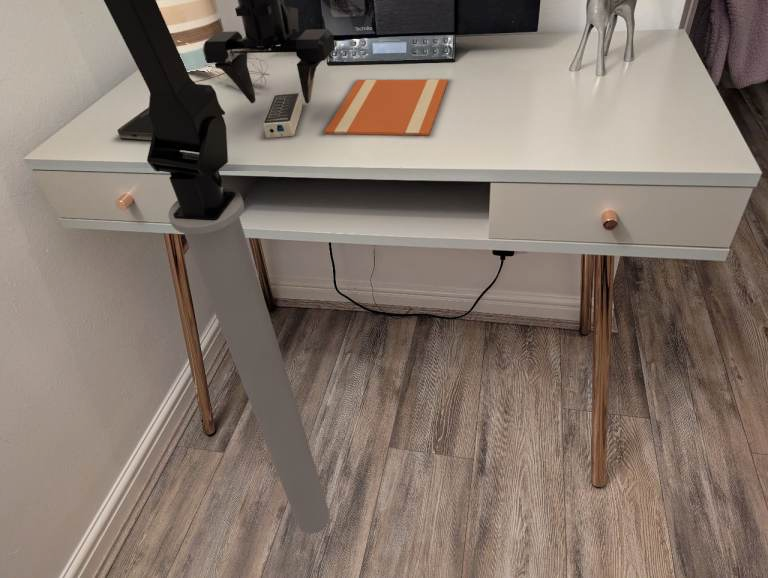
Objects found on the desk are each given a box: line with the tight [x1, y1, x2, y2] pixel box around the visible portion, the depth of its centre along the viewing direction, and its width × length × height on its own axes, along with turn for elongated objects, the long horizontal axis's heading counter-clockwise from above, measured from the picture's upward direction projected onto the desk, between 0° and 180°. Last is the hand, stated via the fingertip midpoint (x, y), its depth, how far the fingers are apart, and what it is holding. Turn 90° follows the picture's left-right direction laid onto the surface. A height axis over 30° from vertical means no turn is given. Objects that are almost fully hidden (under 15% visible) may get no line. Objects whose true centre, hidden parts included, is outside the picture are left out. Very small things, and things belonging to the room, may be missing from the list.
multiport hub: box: [262, 92, 303, 139], centre depth 92 cm, size 4×11×2 cm, turn 179°
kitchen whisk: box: [205, 53, 271, 91], centre depth 109 cm, size 6×34×6 cm, turn 50°
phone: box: [117, 106, 154, 142], centre depth 97 cm, size 8×1×15 cm
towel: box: [324, 78, 449, 136], centre depth 93 cm, size 20×16×1 cm
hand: (280, 102), depth 90 cm, fingers open, 9 cm apart
